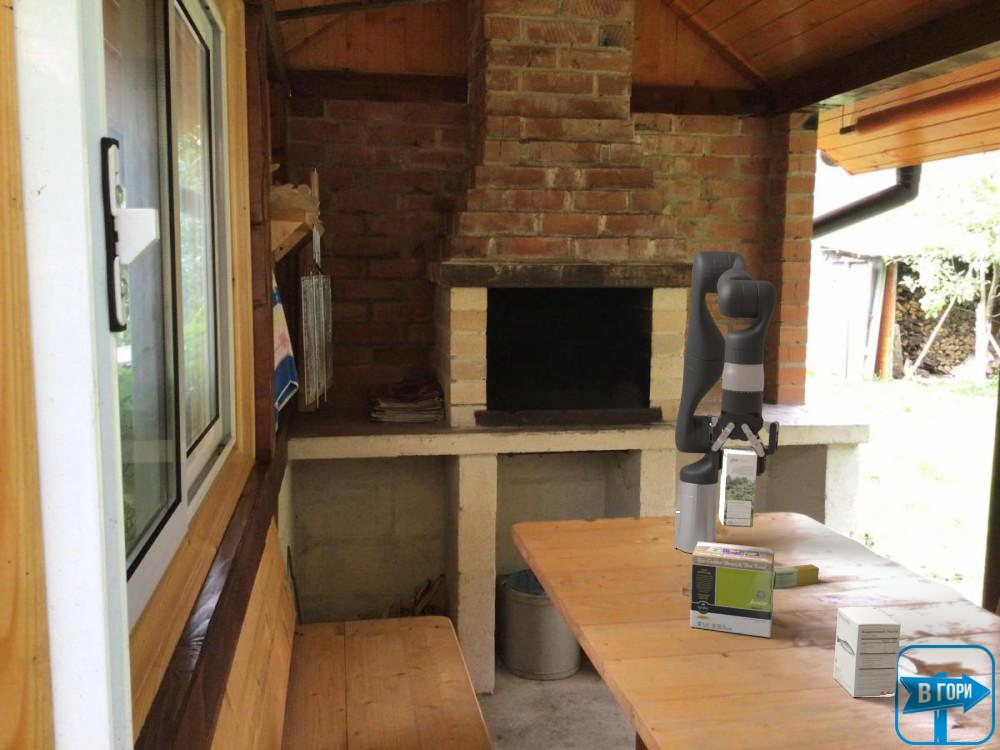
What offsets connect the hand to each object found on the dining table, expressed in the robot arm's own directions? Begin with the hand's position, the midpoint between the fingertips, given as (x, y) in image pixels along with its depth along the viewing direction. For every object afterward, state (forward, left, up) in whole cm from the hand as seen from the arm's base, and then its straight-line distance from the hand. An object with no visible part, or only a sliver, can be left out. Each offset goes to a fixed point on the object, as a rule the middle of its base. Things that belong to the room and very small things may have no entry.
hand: (738, 472), depth 167 cm
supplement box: (+26, -15, -30) cm, 43 cm away
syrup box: (0, 0, -10) cm, 10 cm away
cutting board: (-6, +15, -30) cm, 34 cm away
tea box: (0, 0, -30) cm, 30 cm away
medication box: (+6, +29, -30) cm, 42 cm away
